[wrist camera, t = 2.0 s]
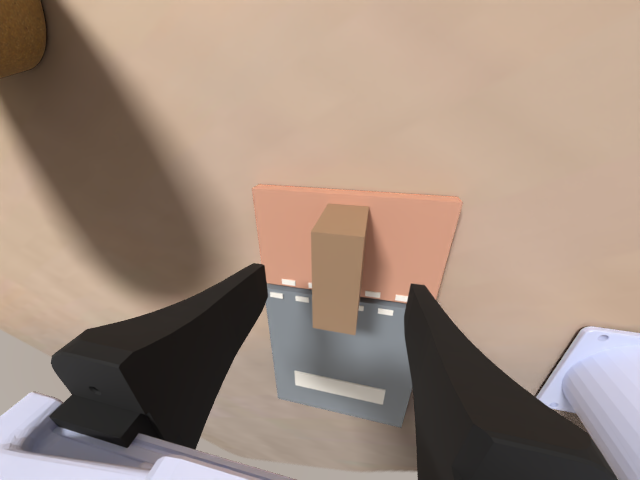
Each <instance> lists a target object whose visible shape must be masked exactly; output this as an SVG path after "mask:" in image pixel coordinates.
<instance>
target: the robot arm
mask: <svg viewBox="0 0 640 480" xmlns="http://www.w3.org/2000/svg"><path fill="white" fill-rule="evenodd" d="M267 298H268V289H267V281H266V273H265V265H263V264H255V263H253V264H251V265H249V266H248V267H246V268H244V269H242V270H240V271H239V272H237V273H235V274H234V275H232V276H230V277H228V278H227V279H225V280H223V281H222V282H220V283H218V284H216V285H214V286H212V287H210V288H208V289H207V290H205V291H203V292H201V293H199V294H197V295H195V296H192V297H190V298H188V299H186V300H183V301H181V302H179V303H176V304H174V305H171V306H168V307H165V308H163V309H160V310H157V311H154V312H151V313H148V314H145V315H142V316H139V317H135V318H132V319H128V320H125V321H121V322H117V323H113V324H108V325H104V326H100V327H95V328H91V329H87V330H85V331H84V332H83V333H81V334H80V335H79V336H77V337H76V338H75V339H73V340H72V341H71V342H69V343H68V344H67V345H65V346H64V347H63V348H61V349H60V350H59V351H57V352H56V353H55V354H54V355H52V360H51V364H52V367H53V369H54V371H55V372H56V374H57V375H58V377H59V378H60V379H61V381H62V382H63V383H64V385H66V387H67V388H68V390H69V391H70V392H71V394H73V395H71V396H70V397H69V398H68V399H67V400H66V401H65V402H64V403H63V402H62V401H61V400H59V399H57V398H55V397H51V396H48V395H44V394H41V393H37V392H30V393H29V394H28V395H26V396H25V397H24V398H23V399H21V400H20V401H19V402H18V403H16V404H15V405H14V406H13V407H11V408H10V409H9V410H8V411H6V412H5V413H4V414H3V415H1V416H0V480H296V479H293V478H289V477H286V476H283V475H279V474H276V473H273V472H269V471H266V470H262V469H259V468H256V467H252V466H249V465H245V464H242V463H239V462H235V461H231V460H228V459H225V458H222V457H218V456H215V455H211V454H208V453H204V452H201V451H198V450H195V449H196V446H197V444H198V441H199V439H200V436H201V433H202V431H203V428H204V426H205V423H206V420H207V418H208V416H209V413H210V411H211V408H212V406H213V404H214V401H215V399H216V396H217V394H218V392H219V390H220V388H221V385H222V383H223V381H224V379H225V376H226V374H227V372H228V370H229V368H230V366H231V364H232V362H233V360H234V358H235V356H236V354H237V352H238V350H239V349H240V347H241V345H242V344H243V342H244V341H245V339H246V337H247V336H248V334H249V332H250V331H251V329H252V327H253V326H254V324H255V322H256V321H257V319H258V317H259V316H260V314H261V312H262V310H263V308H264V305H265V303H266V301H267ZM404 334H405V343H406V349H407V355H408V361H409V368H410V374H411V380H412V386H413V395H414V409H415V426H416V445H417V470H418V480H640V333H635V332H628V331H621V330H614V329H607V328H600V327H590V326H589V327H585V328H583V329H581V330H580V332H579V333H578V335H577V336H576V338H575V339H574V341H573V342H572V344H571V345H570V347H569V348H568V350H567V351H566V353H565V354H564V356H563V357H562V359H561V360H560V362H559V363H558V365H557V366H556V368H555V369H554V371H553V372H552V374H551V375H550V377H549V378H548V380H547V381H546V383H545V384H544V386H543V387H542V389H541V390H540V392H539V393H538V395H537V396H536V397H535V396H533V395H532V394H531V393H529V392H528V391H526V390H525V389H524V388H523V387H521V386H520V385H519V384H518V383H516V382H515V381H514V380H512V379H511V378H510V377H509V376H508V375H506V374H505V373H504V372H503V371H502V370H501V369H499V368H498V367H497V366H496V365H495V364H494V363H492V362H491V361H490V360H489V359H488V358H487V357H486V356H485V355H484V354H483V353H482V352H481V351H480V350H479V349H477V348H476V347H475V346H474V345H473V344H472V343H471V342H470V341H469V340H468V339H467V337H466V336H465V335H464V334H463V333H462V332H461V331H460V330H459V329H458V328H457V326H456V325H455V324H454V323H453V322H452V320H451V319H450V318H449V317H448V315H447V314H446V313H445V312H444V310H443V309H442V308H441V306H440V305H439V304H438V302H437V301H436V300H435V298H434V297H433V295H432V294H431V293H430V291H429V290H428V288H427V287H426V286H425V285H420V284H412V283H411V285H410V290H409V294H408V299H407V304H406V309H405V314H404ZM551 408H552V409H557V410H562V411H567V412H572V413H576V414H577V415H578V417H579V418H580V420H581V422H582V423H583V425H584V426H585V428H586V429H587V431H588V433H589V434H590V436H591V437H592V438H591V437H590V436H589V434H588V433H586V432H585V431H583V430H582V429H581V428H579V427H578V426H576V425H575V424H573V423H572V422H570V421H569V420H567V419H566V418H564V417H563V416H561V415H560V414H558V413H557V412H555V411H554V410H552V409H551ZM592 439H593V440H594V441H593V440H592ZM594 442H595V443H594ZM614 473H615V474H614ZM617 478H618V479H617Z"/></svg>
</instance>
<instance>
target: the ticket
mask: <svg viewBox="0 0 640 480" xmlns="http://www.w3.org/2000/svg"><path fill="white" fill-rule="evenodd" d="M267 289H268V298H267V301H266V308H267V316H268V323H269V331H270V339H271V347H272V354H273V362H274V370H275V378H276V386H277V393H278V398H279V399H283V400H287V401H291V402H296V403H300V404H304V405H308V406H312V407H316V408H321V409H325V410H329V411H333V412H337V413H342V414H346V415H350V416H354V417H358V418H362V419H367V420H371V421H375V422H379V423H383V424H388V425H392V426H396V427H400V428H401V427H402V423H403V420H404V416H405V412H406V409H407V405H408V402H409V398H410V394H411V391H412V387H413V386H412V380H411V374H410V368H409V361H408V355H407V349H406V343H405V334H404V314H405V309H406V304H407V303H401V302H394V301H387V300H380V299H373V298H366V297H360V303H359V311H358V319H357V327H356V335H350V334H345V333H339V332H333V331H328V330H322V329H316V328H313V316H312V290H311V289H304V288H297V287H290V286H283V285H277V284H270V283H267Z"/></svg>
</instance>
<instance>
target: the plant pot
mask: <svg viewBox="0 0 640 480" xmlns="http://www.w3.org/2000/svg"><path fill="white" fill-rule="evenodd" d="M45 45H46V25H45V18H44V13H43V9H42V4H41V1H40V0H0V78H2V77H6V76H10V75H13V74H16V73H20V72H23V71H27V70H30V69H32V68H34V67H35V66H36V65H37V64H38V63H39V62H40V60H41V58H42V56H43V54H44V51H45Z"/></svg>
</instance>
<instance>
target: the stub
mask: <svg viewBox="0 0 640 480" xmlns="http://www.w3.org/2000/svg"><path fill="white" fill-rule="evenodd" d="M252 193H253V201H254V208H255V216H256V224H257V232H258V240H259V248H260V256H261V264H263V265H265V273H266V281H267V283H270V284H277V285H283V286H290V287H297V288H304V289H311V290H312V316H313V328H316V329H322V330H328V331H333V332H339V333H345V334H350V335H356V327H357V319H358V311H359V303H360V297H366V298H373V299H380V300H387V301H394V302H401V303H407V299H408V294H409V290H410V285H411V283H412V284H420V285H425V286H426V287H427V288H428V290H429V291H430V293H431V294H432V295H433V297H434V298H435V300H436V298H437V295H438V291H439V287H440V284H441V280H442V276H443V273H444V269H445V266H446V262H447V258H448V255H449V251H450V247H451V244H452V240H453V236H454V233H455V229H456V226H457V222H458V218H459V215H460V211H461V207H462V204H463V202H462V201H461V200H460V199H459V197H453V196H437V195H421V194H405V193H389V192H373V191H357V190H341V189H325V188H309V187H293V186H277V185H261V184H259V185H257V186H255V187H254V188H252Z"/></svg>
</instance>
